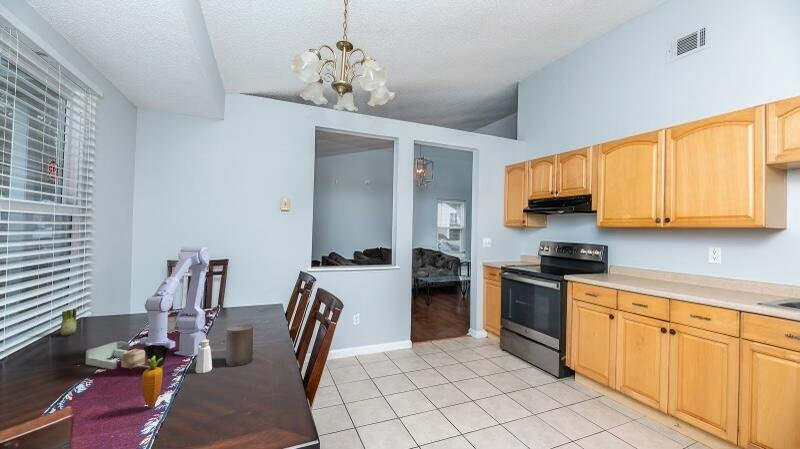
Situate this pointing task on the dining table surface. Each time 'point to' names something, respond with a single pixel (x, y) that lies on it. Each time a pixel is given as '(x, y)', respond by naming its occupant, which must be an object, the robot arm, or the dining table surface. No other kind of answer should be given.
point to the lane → (104, 356)
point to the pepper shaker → (204, 357)
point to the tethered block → (135, 359)
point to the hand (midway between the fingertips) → (156, 365)
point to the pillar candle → (239, 344)
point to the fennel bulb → (68, 322)
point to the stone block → (118, 345)
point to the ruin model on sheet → (171, 324)
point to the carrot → (152, 382)
